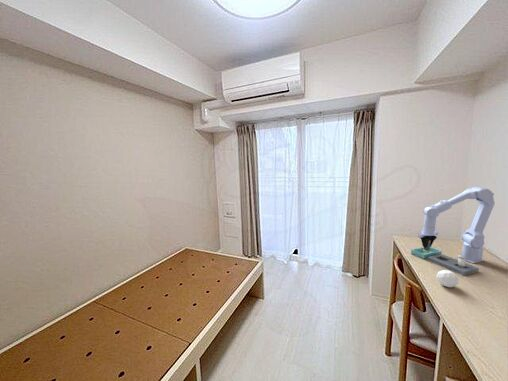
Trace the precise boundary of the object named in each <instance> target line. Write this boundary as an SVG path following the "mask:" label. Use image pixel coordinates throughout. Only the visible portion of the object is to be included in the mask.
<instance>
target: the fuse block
mask: <svg viewBox="0 0 508 381" xmlns="http://www.w3.org/2000/svg"><path fill="white" fill-rule="evenodd" d="M426 261H428V262H431V263H433V264H436V265H437V266H439V267H443V268H445V269H446V270H448V271H451V272H453V273H454V272H455V273H457V274H459V275H461V276H467V275H471V274H475V273H477V272H479V267H477V266H473V265H471V264H469V263H466V262H465V268H464V269H463V268H460V267H458V266H457V264H458V259H456V258H453V257H450V256H448V255H445V254H443V253H441V254H438V255H434V256H429V257H427V259H426Z"/></svg>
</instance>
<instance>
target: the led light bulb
mask: <svg viewBox="0 0 508 381" xmlns="http://www.w3.org/2000/svg"><path fill="white" fill-rule="evenodd" d="M430 242H431V240H429V242H428V246H427V248H425V247H424V249H423V251H424V252H426V253H429V250H430Z"/></svg>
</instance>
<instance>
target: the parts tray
mask: <svg viewBox="0 0 508 381" xmlns="http://www.w3.org/2000/svg"><path fill="white" fill-rule="evenodd" d="M423 249H424V247H423V246H422V247H417V248H413V249H411V252H410V254H411V255H413V256H416V257H418V258H420V259H422V260H427V257H429V256H434V255H438V254H443V253H442V252H443V251H442V250H440V249H436V248H434V247H432V246H431V247H430V250H429V253H426V252H424V251H423Z"/></svg>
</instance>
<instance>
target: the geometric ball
mask: <svg viewBox="0 0 508 381" xmlns="http://www.w3.org/2000/svg"><path fill="white" fill-rule="evenodd" d="M436 279H437V281H438V283H439V284H441V285H442V286H443V287H446V288H454V287H455V288H456V286H457V285H458V284H459V277H458V276H457V274H455V273H454V271H452V270H449V269H443V270H439V271H438V272H437V273H436Z"/></svg>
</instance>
